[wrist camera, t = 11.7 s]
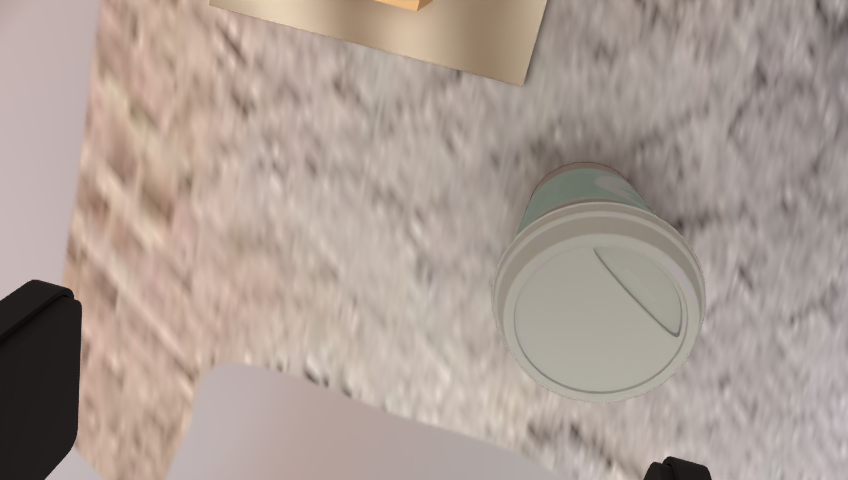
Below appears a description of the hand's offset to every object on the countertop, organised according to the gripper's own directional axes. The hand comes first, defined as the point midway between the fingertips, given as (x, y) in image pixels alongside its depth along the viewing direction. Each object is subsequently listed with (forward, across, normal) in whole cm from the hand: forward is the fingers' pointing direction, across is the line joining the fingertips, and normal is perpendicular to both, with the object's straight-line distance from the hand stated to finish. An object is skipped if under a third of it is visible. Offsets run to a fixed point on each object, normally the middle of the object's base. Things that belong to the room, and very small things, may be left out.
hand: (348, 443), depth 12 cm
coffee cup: (+28, -7, +5) cm, 30 cm away
